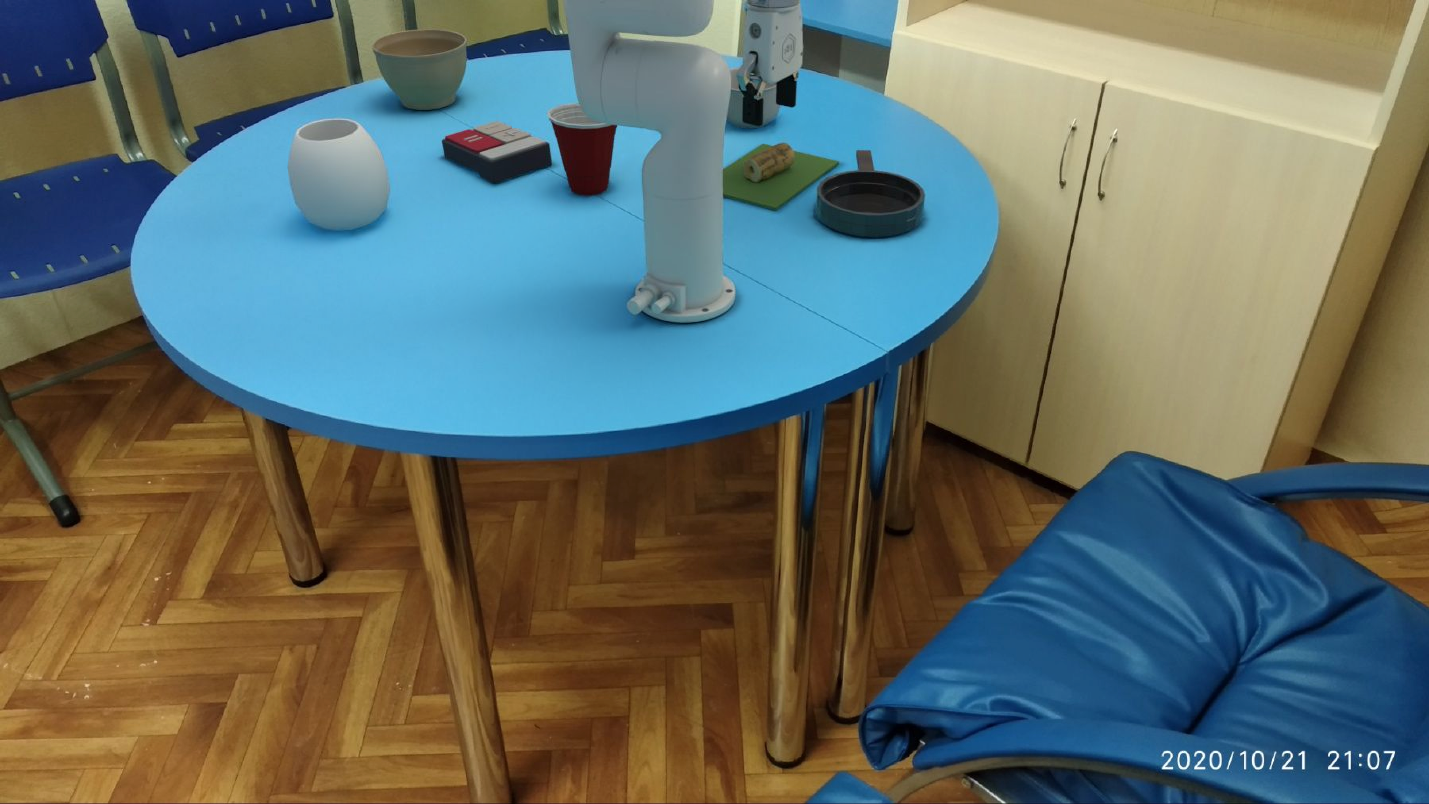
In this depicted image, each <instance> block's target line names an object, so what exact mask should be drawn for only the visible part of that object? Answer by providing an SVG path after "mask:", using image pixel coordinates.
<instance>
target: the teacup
mask: <svg viewBox="0 0 1429 804" xmlns="http://www.w3.org/2000/svg"><path fill="white" fill-rule="evenodd" d="M740 67H741V66H739V67H734V68H729V69H730V73H731V93H730V100H729V106H728V112H727V118H726V121H728V122H730V123H731V125H733V126H735V127H738V128H741V129H758V128H762V127H765V126H766V125H768V124H769V123H771V121H773V120H774V119H775V118H776V117H777V116H778V114H779V112H780V109H781V105H777V104H776V84H777V82H776V83H774V84H769V83H767V82H766V85H765V87H764V90H763V93H762V95H761V98H763V99H764V104H763V124H762V125H761V126H755V125H751V124H746V123H743V121H742V111H743V97H742V96H741V91H740V90H739V86H738V85H739V83H738V80H737V77H736V74H737V71H738V70H739V68H740ZM758 76H761V75H758ZM752 84H753V86H754V87H755V89H756V88H757V85H758V83H756V82H752Z"/></svg>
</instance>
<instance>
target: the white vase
mask: <svg viewBox="0 0 1429 804" xmlns="http://www.w3.org/2000/svg"><path fill="white" fill-rule="evenodd" d="M287 174H288V180H289V187H290V190H291V193H292V197H293V200H294V203H295V205H296V207H297V208H298V210H300V212H301V214H302V215H303V217H304V218H306V220H307V221H308V222H309V223H311V224H313V225H315V226H317V227H318V228H322V229H325V230H329V231H348V230H355V229H359V228H362V227H366V226H368V225H370V224H372V223H374V222H376V221H377V219H379V218H380V216H381V215H382V214H384V211H386V209H387V207H388V203H389V198H390V193H391V191H390V190H391V186H390V185H391V184H390V181H389V175H388V169H387V166H386V163H385V159H384V157H383V154H382V151H381V150H380V148H379V146H378V145H377V143H376V141H375V140H374V138H373V137H372V136H371V135H370V134H369V133H368V132H367V130H366V129H365V128H364V127H363V125H361V124H360V123H359V122H358V121H356V120H353V119H348V118H337V117H336V118H335V117H334V118H325V119H324V118H323V119H319V120H315V121H314V120H313V121H311V122H309V123H307V124H304V125H302V126H301V127H299V128H298V129H297V130H296V131H295V133H294V137H293V140H292V142H291V145H290V149H289V155H288V161H287Z"/></svg>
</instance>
